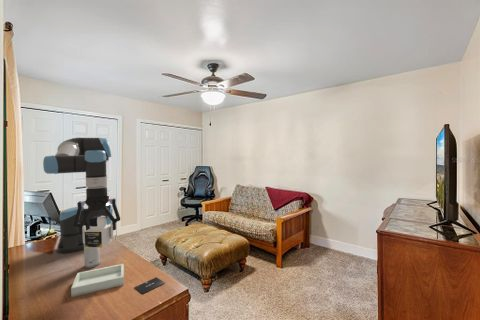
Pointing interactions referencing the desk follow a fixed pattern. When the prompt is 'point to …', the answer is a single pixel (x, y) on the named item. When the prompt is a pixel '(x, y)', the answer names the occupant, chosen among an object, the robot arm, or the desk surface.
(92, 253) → the travel mug
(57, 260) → the desk surface
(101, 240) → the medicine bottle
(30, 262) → the desk surface
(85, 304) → the desk surface
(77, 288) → the tray
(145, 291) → the solid state drive
